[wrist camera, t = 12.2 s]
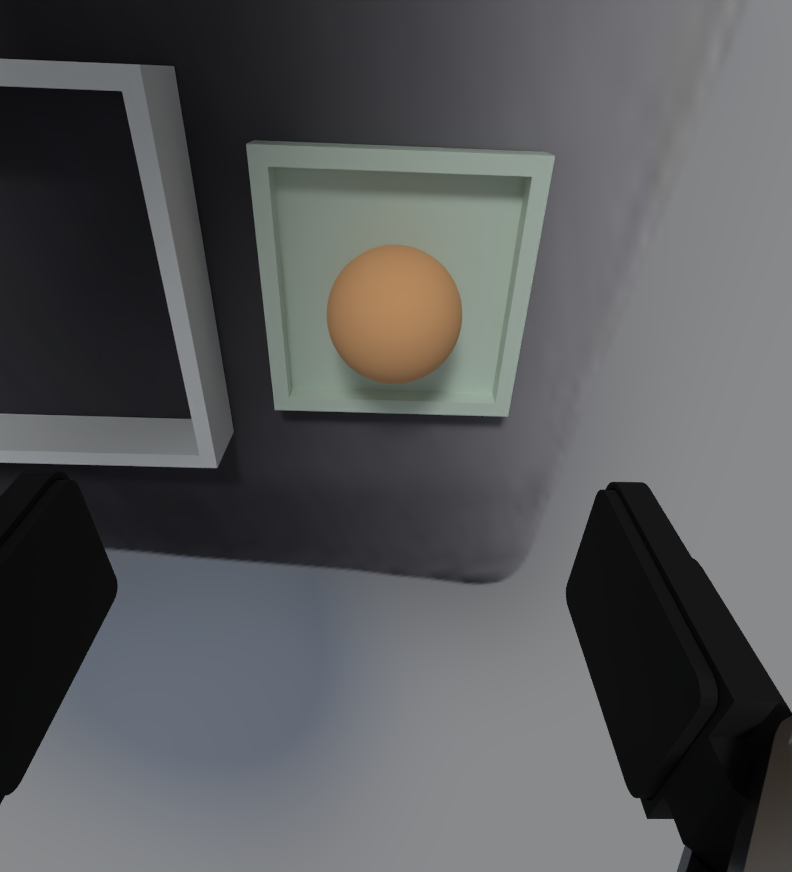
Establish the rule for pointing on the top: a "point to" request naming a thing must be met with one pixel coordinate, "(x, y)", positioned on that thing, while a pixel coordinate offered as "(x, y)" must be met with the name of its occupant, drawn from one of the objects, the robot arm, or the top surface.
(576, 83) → the top surface
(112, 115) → the top surface
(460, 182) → the tray
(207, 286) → the grey square frame
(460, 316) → the ball
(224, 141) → the top surface
